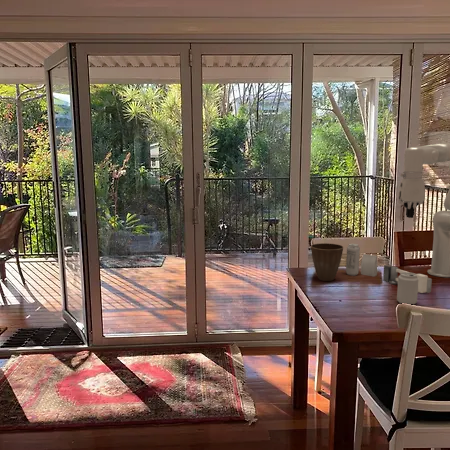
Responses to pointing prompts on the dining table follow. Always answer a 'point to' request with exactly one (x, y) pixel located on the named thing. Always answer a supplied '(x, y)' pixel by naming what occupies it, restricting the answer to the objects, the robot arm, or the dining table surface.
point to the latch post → (429, 285)
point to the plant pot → (326, 260)
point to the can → (407, 288)
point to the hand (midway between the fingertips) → (409, 217)
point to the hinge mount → (388, 275)
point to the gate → (422, 278)
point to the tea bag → (369, 265)
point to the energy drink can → (352, 259)
